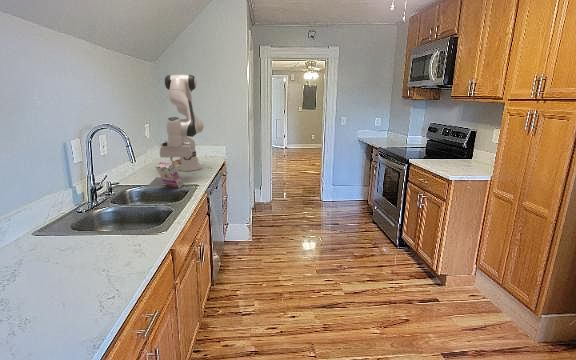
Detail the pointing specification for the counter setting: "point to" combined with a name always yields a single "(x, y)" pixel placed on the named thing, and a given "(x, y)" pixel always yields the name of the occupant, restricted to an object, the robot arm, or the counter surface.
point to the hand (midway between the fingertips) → (177, 163)
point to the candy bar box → (169, 175)
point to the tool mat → (157, 182)
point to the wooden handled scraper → (176, 163)
